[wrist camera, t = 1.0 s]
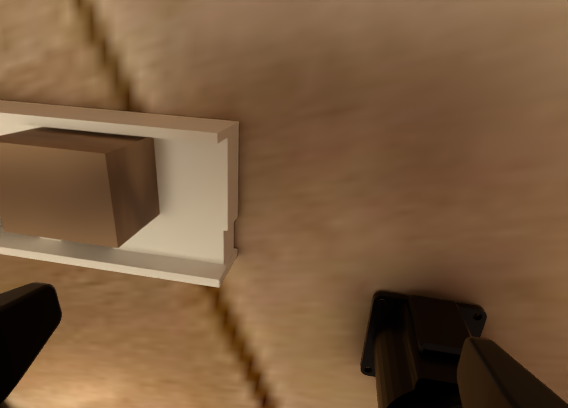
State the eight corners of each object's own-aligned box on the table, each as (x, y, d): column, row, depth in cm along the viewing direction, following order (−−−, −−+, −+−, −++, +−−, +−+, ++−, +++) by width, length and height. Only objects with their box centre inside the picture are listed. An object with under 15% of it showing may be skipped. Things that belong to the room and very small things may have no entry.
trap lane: (237, 255, 23) (219, 288, 19) (-58, 214, 26) (-116, 236, 22) (238, 121, 19) (217, 132, 16) (-100, 90, 22) (-176, 95, 19)
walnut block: (160, 214, 20) (117, 248, 16) (64, 201, 21) (4, 231, 17) (153, 135, 18) (104, 153, 15) (49, 124, 19) (-21, 140, 15)
